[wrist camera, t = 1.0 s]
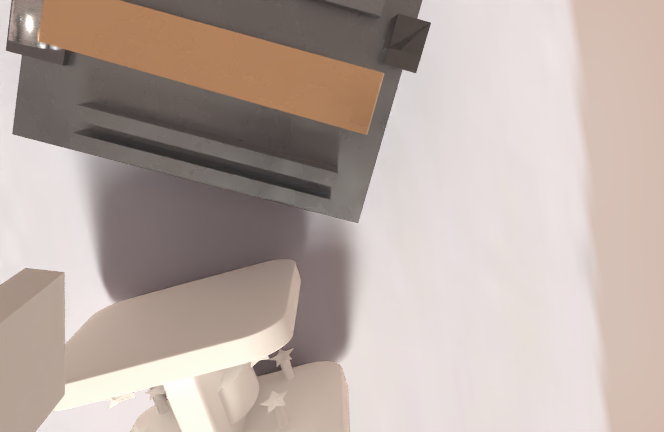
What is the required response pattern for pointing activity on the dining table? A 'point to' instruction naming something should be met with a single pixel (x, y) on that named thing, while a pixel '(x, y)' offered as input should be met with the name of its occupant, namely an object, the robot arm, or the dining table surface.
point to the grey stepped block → (229, 103)
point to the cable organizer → (208, 358)
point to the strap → (203, 57)
